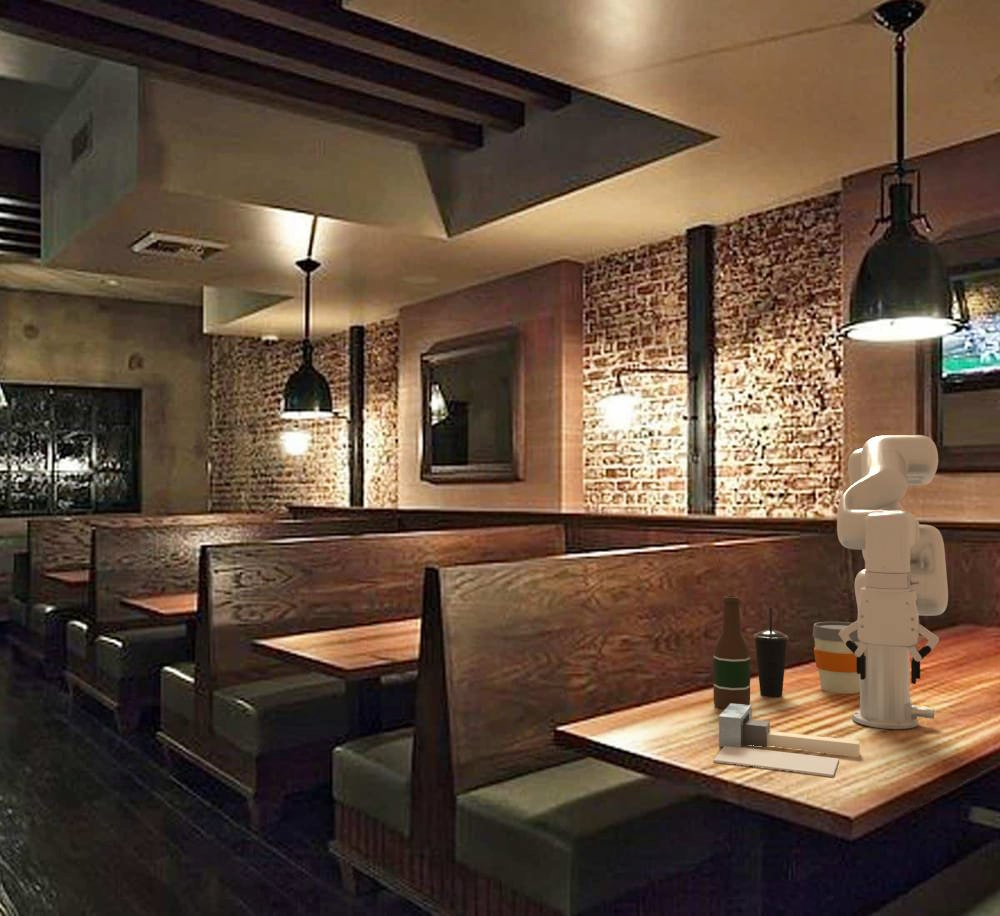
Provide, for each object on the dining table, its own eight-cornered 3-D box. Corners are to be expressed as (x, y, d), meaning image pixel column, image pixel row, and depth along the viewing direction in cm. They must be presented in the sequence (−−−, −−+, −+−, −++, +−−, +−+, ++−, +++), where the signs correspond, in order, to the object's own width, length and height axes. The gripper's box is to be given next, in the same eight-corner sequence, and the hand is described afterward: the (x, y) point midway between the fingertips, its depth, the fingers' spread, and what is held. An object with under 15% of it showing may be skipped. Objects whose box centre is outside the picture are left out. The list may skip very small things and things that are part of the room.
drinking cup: (749, 691, 224) (748, 605, 224) (781, 691, 224) (780, 605, 225) (760, 699, 216) (760, 610, 216) (793, 698, 217) (793, 609, 217)
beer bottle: (751, 712, 204) (750, 599, 205) (713, 710, 206) (713, 598, 206) (749, 703, 212) (748, 594, 212) (713, 701, 214) (712, 593, 214)
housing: (751, 735, 186) (751, 705, 186) (740, 750, 176) (740, 718, 176) (730, 732, 188) (730, 703, 188) (719, 747, 178) (718, 716, 178)
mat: (838, 760, 169) (838, 758, 169) (833, 777, 160) (833, 774, 160) (725, 747, 178) (725, 745, 178) (713, 762, 169) (713, 759, 169)
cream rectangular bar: (859, 752, 175) (859, 730, 175) (858, 758, 171) (858, 736, 171) (745, 739, 183) (745, 718, 183) (741, 745, 180) (741, 723, 180)
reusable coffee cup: (852, 698, 217) (851, 631, 217) (802, 688, 227) (802, 625, 227) (879, 689, 226) (878, 625, 226) (830, 681, 235) (830, 619, 235)
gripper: (941, 582, 171) (941, 680, 171) (838, 577, 178) (838, 672, 178) (941, 586, 164) (941, 689, 164) (834, 581, 172) (834, 680, 171)
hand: (888, 679), depth 171 cm, fingers open, 7 cm apart
